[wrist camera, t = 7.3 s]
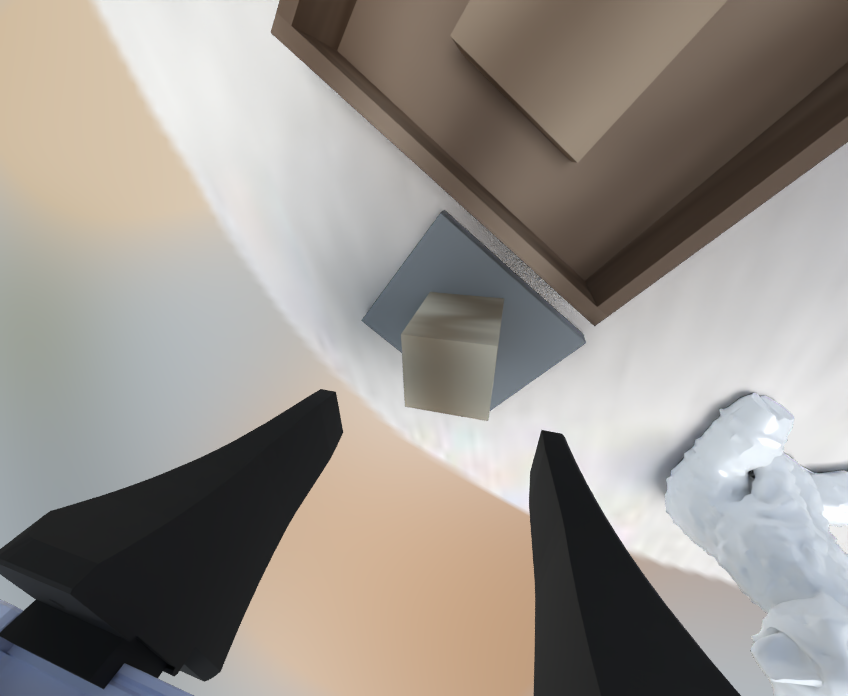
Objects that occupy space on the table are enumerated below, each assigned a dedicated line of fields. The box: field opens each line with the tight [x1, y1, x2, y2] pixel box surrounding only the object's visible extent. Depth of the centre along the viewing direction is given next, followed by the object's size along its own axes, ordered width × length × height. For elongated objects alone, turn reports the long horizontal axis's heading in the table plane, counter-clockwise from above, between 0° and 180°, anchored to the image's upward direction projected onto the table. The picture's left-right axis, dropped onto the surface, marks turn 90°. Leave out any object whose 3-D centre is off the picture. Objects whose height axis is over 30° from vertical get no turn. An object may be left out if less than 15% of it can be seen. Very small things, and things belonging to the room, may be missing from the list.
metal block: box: [401, 292, 504, 421], centre depth 16 cm, size 4×4×5 cm
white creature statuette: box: [665, 393, 848, 696], centre depth 15 cm, size 10×9×12 cm
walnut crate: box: [271, 0, 848, 326], centre depth 10 cm, size 16×13×4 cm
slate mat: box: [362, 210, 586, 411], centre depth 19 cm, size 10×8×1 cm
